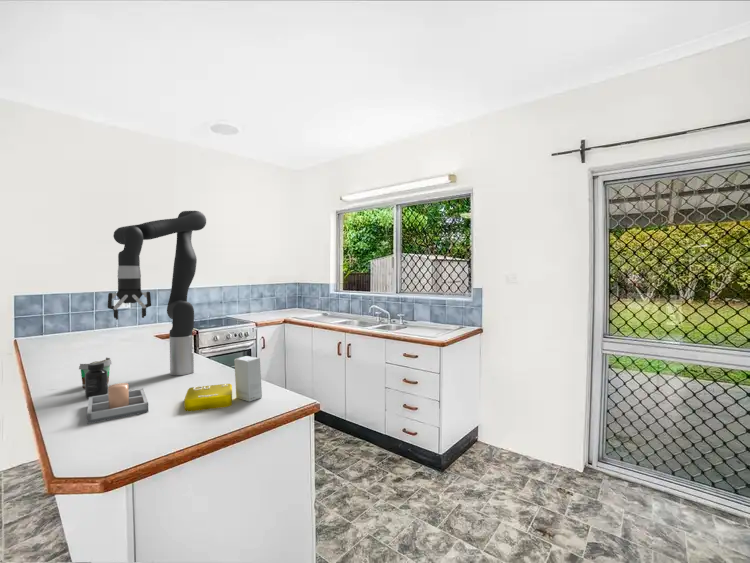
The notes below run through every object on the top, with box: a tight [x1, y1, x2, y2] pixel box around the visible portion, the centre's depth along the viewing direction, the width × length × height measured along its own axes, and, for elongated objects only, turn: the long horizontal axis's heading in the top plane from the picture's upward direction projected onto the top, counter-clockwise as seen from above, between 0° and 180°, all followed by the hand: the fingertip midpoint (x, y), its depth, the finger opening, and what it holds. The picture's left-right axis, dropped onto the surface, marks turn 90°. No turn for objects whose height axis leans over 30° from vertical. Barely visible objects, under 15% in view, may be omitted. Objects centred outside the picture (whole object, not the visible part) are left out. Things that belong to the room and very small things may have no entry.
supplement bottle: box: [84, 362, 109, 399], centre depth 139 cm, size 7×7×12 cm
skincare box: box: [233, 355, 263, 402], centre depth 136 cm, size 8×6×15 cm
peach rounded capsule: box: [107, 382, 130, 409], centre depth 122 cm, size 6×6×8 cm
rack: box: [86, 388, 149, 425], centre depth 125 cm, size 16×19×3 cm
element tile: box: [183, 383, 233, 412], centre depth 132 cm, size 15×15×5 cm
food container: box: [78, 357, 113, 389], centre depth 152 cm, size 12×6×10 cm, turn 168°
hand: (130, 318), depth 146 cm, fingers open, 8 cm apart
